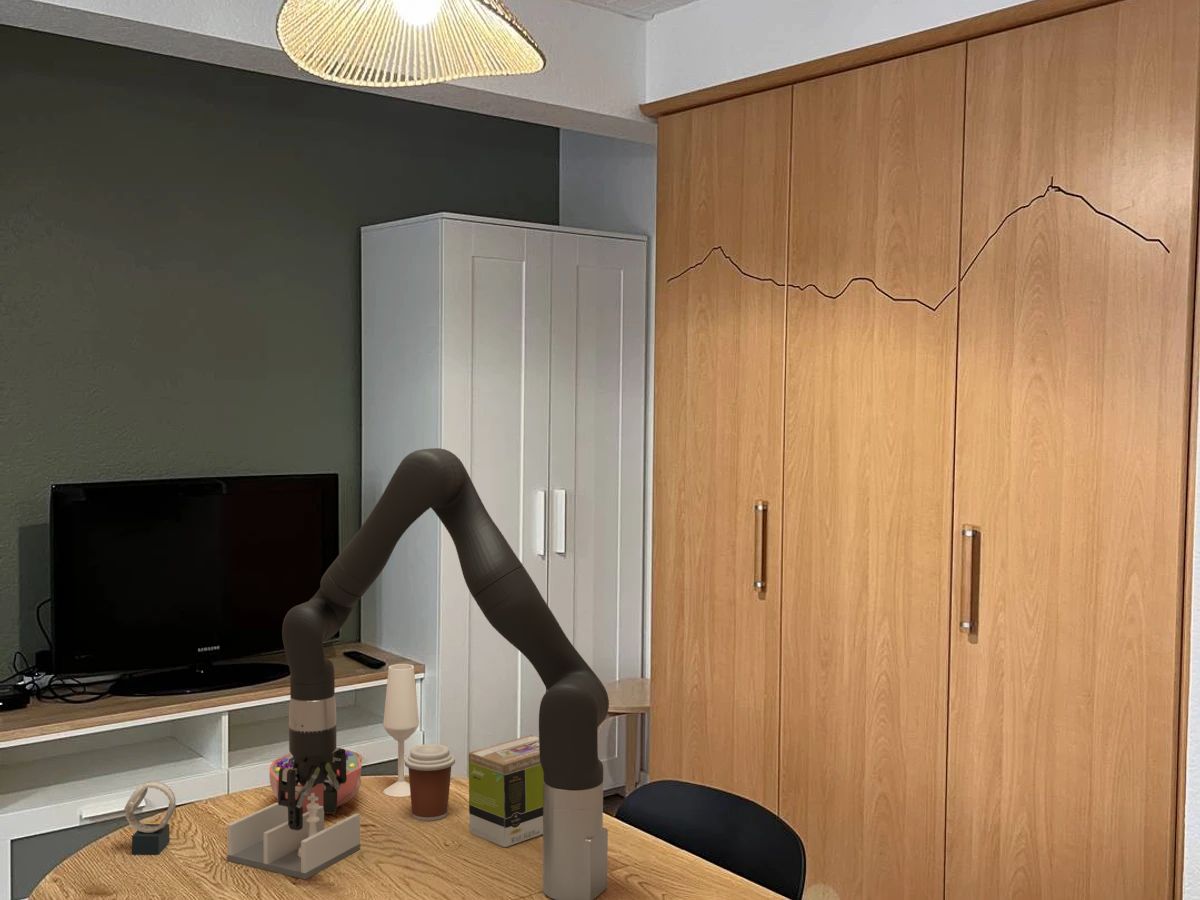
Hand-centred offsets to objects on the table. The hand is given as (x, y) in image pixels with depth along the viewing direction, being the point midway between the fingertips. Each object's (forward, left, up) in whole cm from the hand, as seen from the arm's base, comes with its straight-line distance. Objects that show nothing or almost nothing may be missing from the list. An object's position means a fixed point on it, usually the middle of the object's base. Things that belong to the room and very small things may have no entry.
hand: (313, 820), depth 199 cm
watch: (+27, +9, -7) cm, 29 cm away
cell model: (+15, -19, -7) cm, 25 cm away
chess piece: (0, 0, -6) cm, 6 cm away
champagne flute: (+7, -34, -7) cm, 35 cm away
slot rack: (+4, 0, -6) cm, 7 cm away
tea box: (-23, -27, -7) cm, 36 cm away
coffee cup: (-5, -26, -7) cm, 27 cm away
